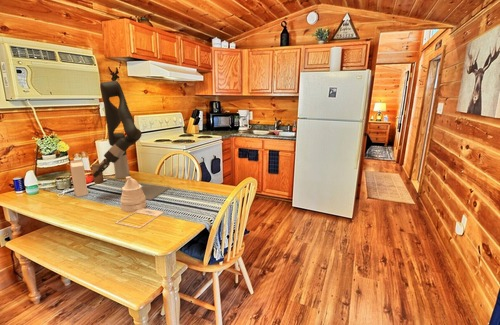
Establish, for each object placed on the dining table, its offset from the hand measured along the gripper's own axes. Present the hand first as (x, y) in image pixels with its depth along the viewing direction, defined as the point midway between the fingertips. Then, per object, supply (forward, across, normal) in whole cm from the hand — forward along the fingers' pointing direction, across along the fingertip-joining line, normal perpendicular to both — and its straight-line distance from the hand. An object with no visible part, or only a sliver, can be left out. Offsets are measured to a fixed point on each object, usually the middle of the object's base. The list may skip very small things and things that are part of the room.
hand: (94, 175), depth 152 cm
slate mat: (-10, +5, +30) cm, 32 cm away
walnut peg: (+2, 0, +5) cm, 5 cm away
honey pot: (-3, +24, +23) cm, 33 cm away
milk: (+17, -10, +4) cm, 20 cm away
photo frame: (-4, +40, +24) cm, 47 cm away
